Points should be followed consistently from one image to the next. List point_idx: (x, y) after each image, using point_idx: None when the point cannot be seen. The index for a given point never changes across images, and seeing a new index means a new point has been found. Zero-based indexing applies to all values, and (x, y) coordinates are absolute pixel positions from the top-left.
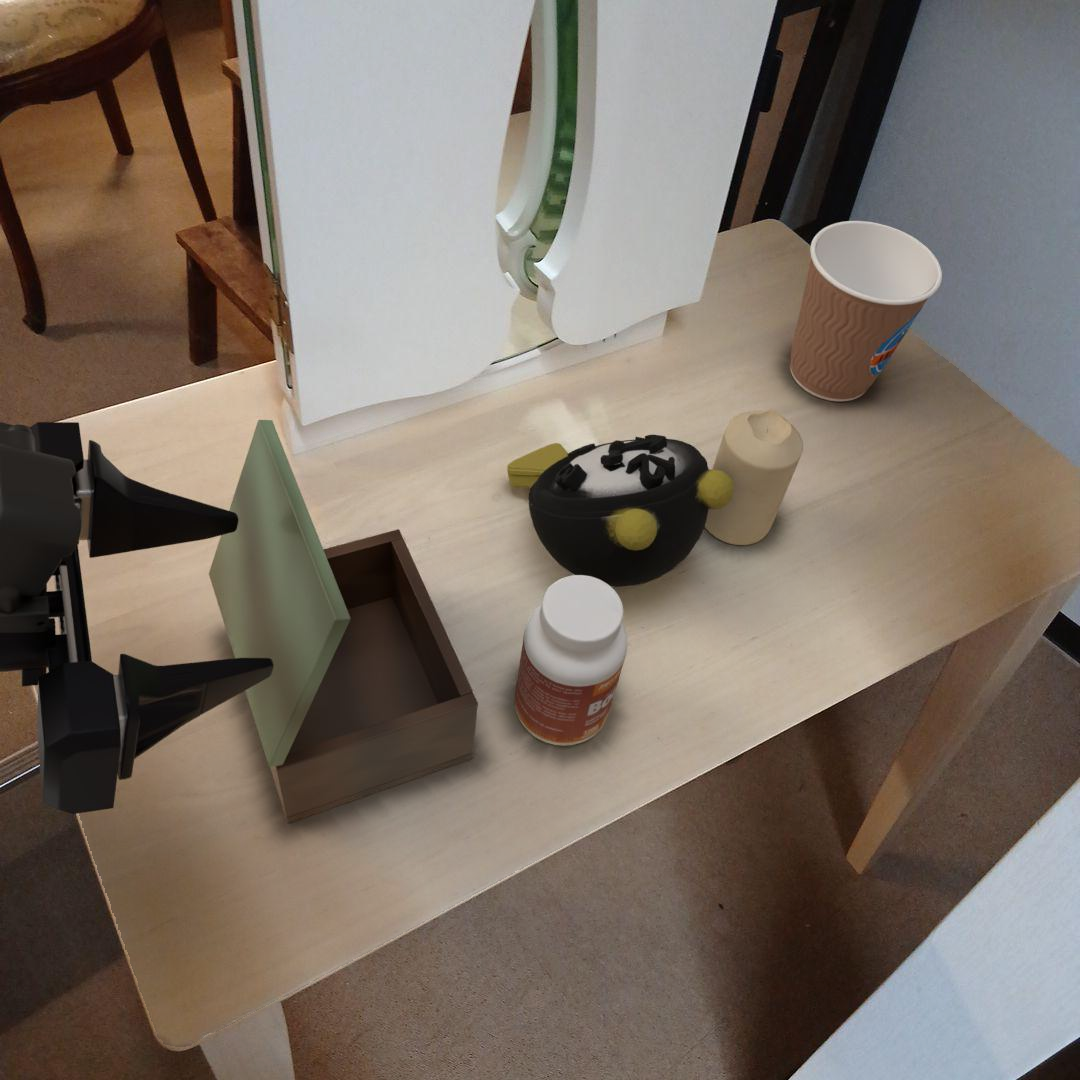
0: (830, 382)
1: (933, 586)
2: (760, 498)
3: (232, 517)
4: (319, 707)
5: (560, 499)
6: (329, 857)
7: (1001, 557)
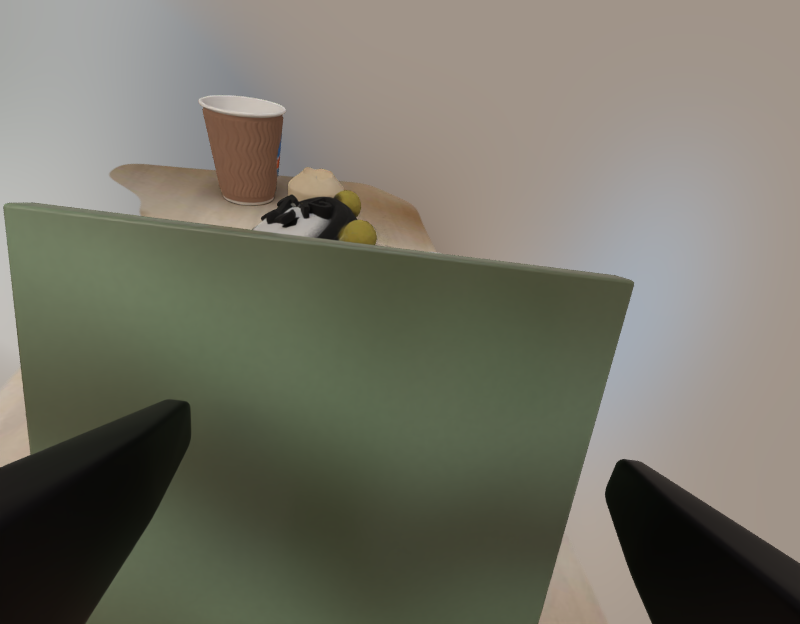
0: (264, 189)
1: (402, 232)
2: None
3: (181, 405)
4: None
5: None
6: None
7: (398, 213)
